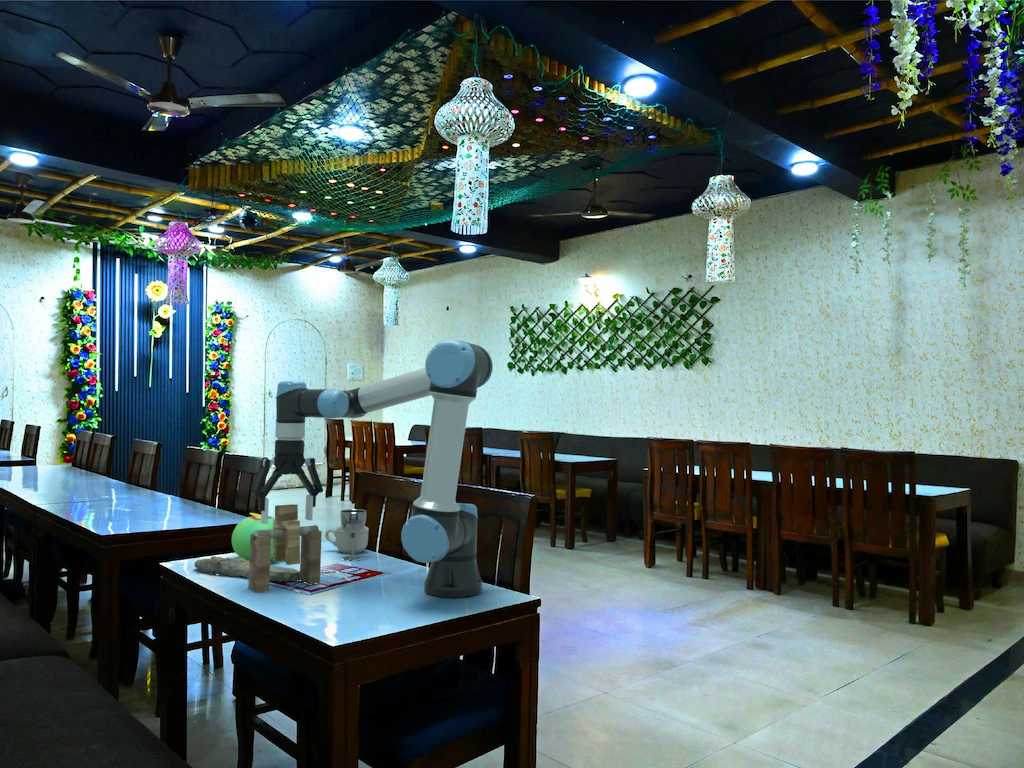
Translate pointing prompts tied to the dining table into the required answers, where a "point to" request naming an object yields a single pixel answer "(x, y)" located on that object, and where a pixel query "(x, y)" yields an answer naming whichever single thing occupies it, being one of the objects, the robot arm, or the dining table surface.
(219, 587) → the dining table surface
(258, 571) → the rod stand
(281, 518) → the oak hanger
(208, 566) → the elongated rock
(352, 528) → the wine glass
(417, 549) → the robot arm
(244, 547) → the green bird toy
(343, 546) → the teacup
